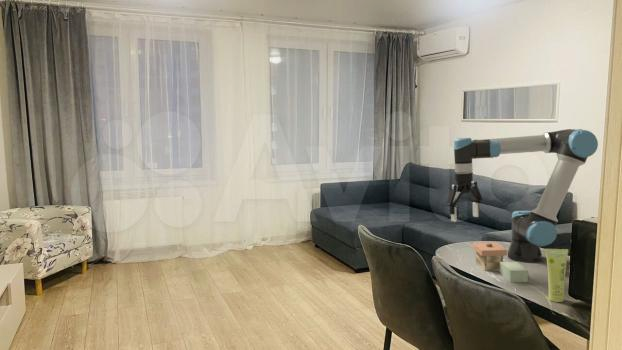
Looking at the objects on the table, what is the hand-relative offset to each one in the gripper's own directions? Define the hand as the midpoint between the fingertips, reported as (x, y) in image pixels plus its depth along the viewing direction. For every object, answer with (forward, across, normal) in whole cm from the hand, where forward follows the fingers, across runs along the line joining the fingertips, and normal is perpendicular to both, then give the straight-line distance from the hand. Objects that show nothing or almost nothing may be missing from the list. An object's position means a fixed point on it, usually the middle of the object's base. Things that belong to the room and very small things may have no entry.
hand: (465, 218), depth 206 cm
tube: (+24, +2, +45) cm, 51 cm away
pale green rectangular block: (+23, -6, +20) cm, 31 cm away
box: (+23, -9, +5) cm, 25 cm away
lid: (+16, -10, +5) cm, 19 cm away
